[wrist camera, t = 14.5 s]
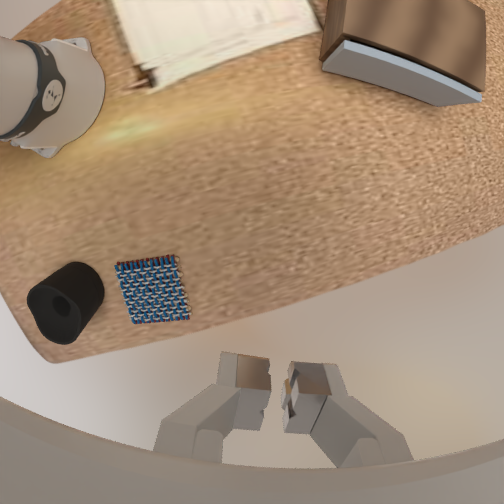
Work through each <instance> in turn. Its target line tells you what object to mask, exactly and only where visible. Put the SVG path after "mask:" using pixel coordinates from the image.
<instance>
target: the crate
mask: <svg viewBox="0 0 504 504" xmlns="http://www.w3.org/2000/svg"><path fill="white" fill-rule="evenodd" d="M344 40H347V41H350V42H354V43H357V44H361V45H364V46H367V47H370V48H373V49H377V50H380V51H383V52H386V53H388V54H391V55H394V56H397V57H400V58H402V59H405V60H408V61H410V62H413V63H415V64H418V65H420V66H423V67H425V68H427V69H430V70H432V71H434V72H437V73H439V74H441V75H443V76H446V77H448V78H450V79H452V80H454V81H456V82H458V83H460V84H462V85H464V86H466V87H468V88H470V89H472V90H474V91H476V92H483V91H485V76H486V21H485V11H484V10H483V9H481V8H480V7H478V6H476V5H475V4H473V3H471V2H470V1H468V0H328V6H327V13H326V19H325V26H324V32H323V39H322V45H321V52H320V58H319V60H320V61H324V62H325V61H326V59H327V58H328V57H329V56H330V55H331V54H332V53H333V52H334V51H335V50H336V49H337V48H338V47H339V46H340V44H341V43H342V42H343V41H344Z"/></svg>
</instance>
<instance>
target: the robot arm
mask: <svg viewBox="0 0 504 504" xmlns="http://www.w3.org/2000/svg"><path fill="white" fill-rule="evenodd" d="M75 44H76V45H75ZM104 92H105V81H104V75H103V71H102V69H101V67H100V65H99V63H98V62H97V61H96V59H95V58H94V57H93V55H92V53H91V47H90V42H89V40H88V39H86V38H83V37H79V38H72V39H66V40H59V39H54V38H53V39H52V40H51V41H45V42H41V43H37V42H33V41H29V40H28V41H26V40H16V41H14V40H11V39H8V38H4V37H1V36H0V141H4V142H8V141H9V140H11V143H10V144H11V145H13V146H19V145H20V148H23V149H31V150H33V151H35V152H36V153H38V154H40V155H41V156H43V157H45V158H52V157H53V156H55V155H56V154H57V153H58V151H59V150H60V149H61V148H62V147H63V146H64V145H65V144H67V143H69V142H71V141H73V140H75V139H77V138H78V137H80V136H81V135H82V134H83V133H85V132H86V131H87V130H88V128H89V127H90V126H91V125H92V123H93V122H94V120H95V119H96V117H97V115H98V113H99V111H100V108H101V106H102V102H103V98H104ZM43 148H44V149H43ZM269 367H270V363H269V359H268V358H263V357H256V356H249V355H243V354H236V353H230V352H223V351H222V352H221V355H220V362H219V369H218V375H217V382H216V384H211V385H210V386H208V387H207V388H206V389H204V390H203V391H202V392H200V393H199V394H198V395H196V396H195V397H194V398H193V399H191V400H189V401H188V402H187V403H185V404H184V405H183V406H181V407H180V408H178V409H177V410H176V411H174V412H173V413H171V414H170V415H168V416H167V417H166V418H164V419H163V420H162V421H161V425H160V428H159V431H158V435H157V439H156V442H155V445H154V449H153V451H150V450H146V449H141V448H137V447H134V446H130V445H126V444H122V443H119V442H115V441H112V440H108V439H105V438H101V437H98V436H95V435H92V434H89V433H86V432H83V431H80V430H77V429H75V428H72V427H69V426H66V425H64V424H61V423H58V422H56V421H53V420H51V419H48V418H46V417H43V416H41V415H39V414H36V413H34V412H32V411H29V410H27V409H25V408H23V407H21V406H19V405H16V404H14V403H12V402H10V401H8V400H6V399H4V398H2V397H0V504H504V439H502V440H499V441H496V442H493V443H489V444H486V445H482V446H479V447H475V448H471V449H467V450H463V451H459V452H455V453H450V454H446V455H441V456H436V457H431V458H425V459H420V460H414V459H413V457H412V455H411V452H410V450H409V447H408V445H407V443H406V440H405V438H404V436H403V434H401V433H400V432H399V431H397V430H396V429H395V428H393V427H392V426H391V425H389V424H388V423H387V422H386V421H384V420H383V419H381V418H380V417H379V416H378V415H376V414H375V413H374V412H372V411H371V410H370V409H368V408H367V407H366V406H365V405H363V404H362V403H361V402H359V401H358V400H357V399H356V398H354V397H353V396H348V393H347V390H346V387H345V384H344V382H343V379H342V376H341V373H340V370H339V368H338V366H337V364H329V363H321V364H319V363H307V362H296V361H291V363H290V365H289V368H288V377H289V378H288V379H286V380H285V381H284V385H283V388H282V394H281V406H282V408H283V409H284V410H285V412H284V415H283V426H284V432H285V433H297V434H298V433H299V434H310V436H311V437H312V439H313V440H314V441H315V442H316V443H317V445H318V446H319V447H320V448H321V449H322V451H323V452H324V453H325V454H326V455H327V457H328V458H329V459H330V460H331V461H332V462H333V463H334V465H335V466H336V467H337V468H319V469H296V468H294V469H293V468H270V467H254V466H243V465H233V464H224V463H222V448H223V439H224V438H225V437H226V436H227V435H228V434H229V433H230V432H231V431H232V429H244V430H257V431H258V430H260V427H261V424H262V421H263V418H264V413H263V411H264V410H263V409H265V408H266V407H267V405H268V401H269V398H270V394H271V377H270V376H271V375H269V373H268V370H269Z"/></svg>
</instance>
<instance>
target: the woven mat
mask: <svg viewBox="0 0 504 504" xmlns="http://www.w3.org/2000/svg"><path fill="white" fill-rule="evenodd" d="M166 257H167V258H164V256H161V258H160V259H159V258H158V257H156V258H155V260H153V258H150V261H149V259H148V258H146V261H143V259H141V260H140V262H139V261H138V260H136V262H133V261H131V262H130V263H129V262H128V261H126V264H124V262H121V264H120V263H119V262H117V265H118V266H117V265H114V266H115V269H116V271H117V272H115V273H116V274H117V275H116V277H118V278H119V279H117V281H119V282H120V285H119V287H121V288H122V289H120V290H121V291H123V293H121V295H122V294H123V296H124V297H125V298H123V300H125V302H124V304H125V303H126V304H127V306H126V307H128V309H129V311H127V313H128V312H129V314H130V315H129V316H130V317H131V318H129V319H131V321H132V322H133V323H134V324H142V322H143V323H151V321H152V322H154V323H155V322H160V320H161V321H162V322H165V319H166V322H167V321H170V319H171V321H174V320H175V319H176V320H177V321H178V320H180V319H181V320H184V319H185V318H186V320H189V319H190V318H189V315H192V314H193V313H191V312H188V311H189V310H191V306H190V305H189V306H187V304H186V303H187V302H190V300H189V299H185V298H184V297H186V298H187V296H188V294H187V293H184V292H183V290H184V289H185V287H184V286H182V285H181V282H183V280H182V279H180V277H181V276H183V273H182V272H179V271H178V270H177V269H178V268H181V266H176V262H178V261H179V260H180V259H179V258H178V257H174V255H171V257H170V258H169V255H166ZM175 261H176V262H175ZM165 262H166V265H165ZM170 262H171V264H170ZM160 263H161V265H160ZM155 265H156V266H155ZM145 267H146V268H145ZM125 268H126V269H125ZM135 268H136V269H135ZM126 270H127V271H126ZM172 270H174V272H173V271H172ZM167 271H168V272H167ZM152 273H153V274H152ZM157 273H158V274H157ZM169 277H170V279H169ZM174 277H175V278H176V279H175V278H174ZM164 278H165V280H164ZM153 279H154V280H155V281H154V280H153ZM144 281H145V282H144ZM125 284H126V285H125ZM170 285H171V286H172V287H171V286H170ZM161 287H162V288H161ZM166 287H167V288H166ZM141 289H142V290H141ZM162 292H163V294H162ZM167 292H168V293H167ZM173 292H174V293H173ZM153 295H154V296H153ZM134 297H135V298H134ZM179 298H181V299H179ZM169 299H170V301H169ZM164 300H165V301H164ZM181 303H182V305H183V306H181ZM166 305H167V307H166ZM161 306H162V308H161ZM171 306H172V307H171ZM142 308H143V309H142ZM152 308H153V309H152ZM168 311H169V312H168ZM183 311H184V313H183ZM178 312H179V313H178ZM168 313H169V314H168ZM149 315H150V316H149ZM140 316H141V317H140ZM184 316H185V317H184ZM179 317H180V318H179Z"/></svg>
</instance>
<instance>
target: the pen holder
mask: <svg viewBox="0 0 504 504" xmlns="http://www.w3.org/2000/svg"><path fill="white" fill-rule="evenodd" d="M103 297H104V289H103V285H102V282H101V280H100V278H99V276H98V275H97V273H96V272H95V271H94V270H93V269H92V268H90V267H89V266H87V265H85V264H83V263H79V262H72V263H69V264H67V265H65V266H64V267H62V268H61V269H59V270H57V271H56V272H54V273H53V274H52V275H50V276H49V277H47V278H46V279H44V280H43V281H41V282H40V283H39V284H37V285H36V286H34V287H33V288H32V289H31V290H30V291H29V293H28V296H27V304H28V307H29V309H30V311H31V312H32V314H33V316H34V319H35V321H36V324H37V326H38V328H39V330H40V332H41V333H42V334H43V336H45V337H46V338H47V339H48V340H50V341H52V342H54V343H57V344H62V345H66V344H70V343H72V342H74V341H75V340H76V339H77V337H78V336H79V335H80V333H81V332H82V330H83V329H84V328H85V326H86V325H87V323H88V322H89V321H90V319H91V318H92V316H93V315H94V314H95V312H96V311H97V309H98V308H99V306H100V305H101V303H102V301H103Z"/></svg>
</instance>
